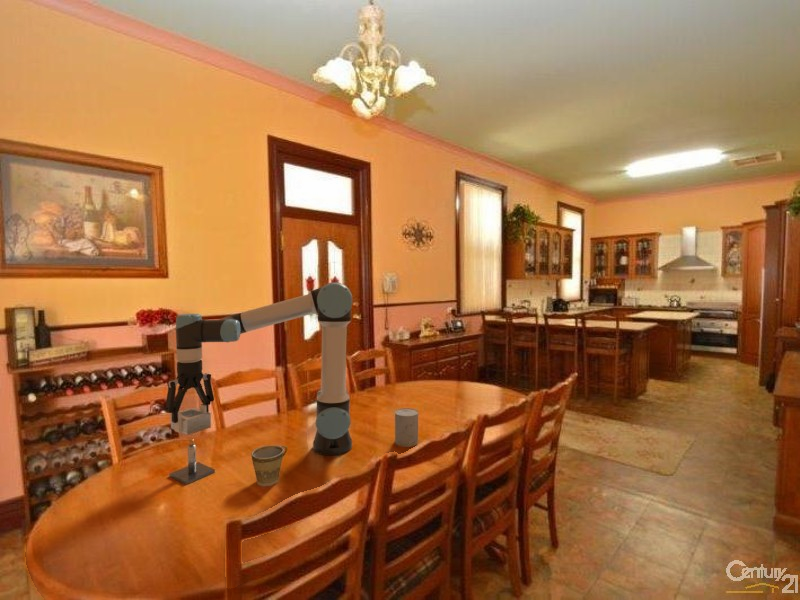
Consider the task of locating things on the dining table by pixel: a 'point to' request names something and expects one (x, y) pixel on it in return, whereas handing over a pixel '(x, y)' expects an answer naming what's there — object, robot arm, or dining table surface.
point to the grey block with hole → (193, 421)
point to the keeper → (191, 468)
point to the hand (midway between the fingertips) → (191, 427)
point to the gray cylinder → (406, 427)
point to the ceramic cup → (268, 464)
